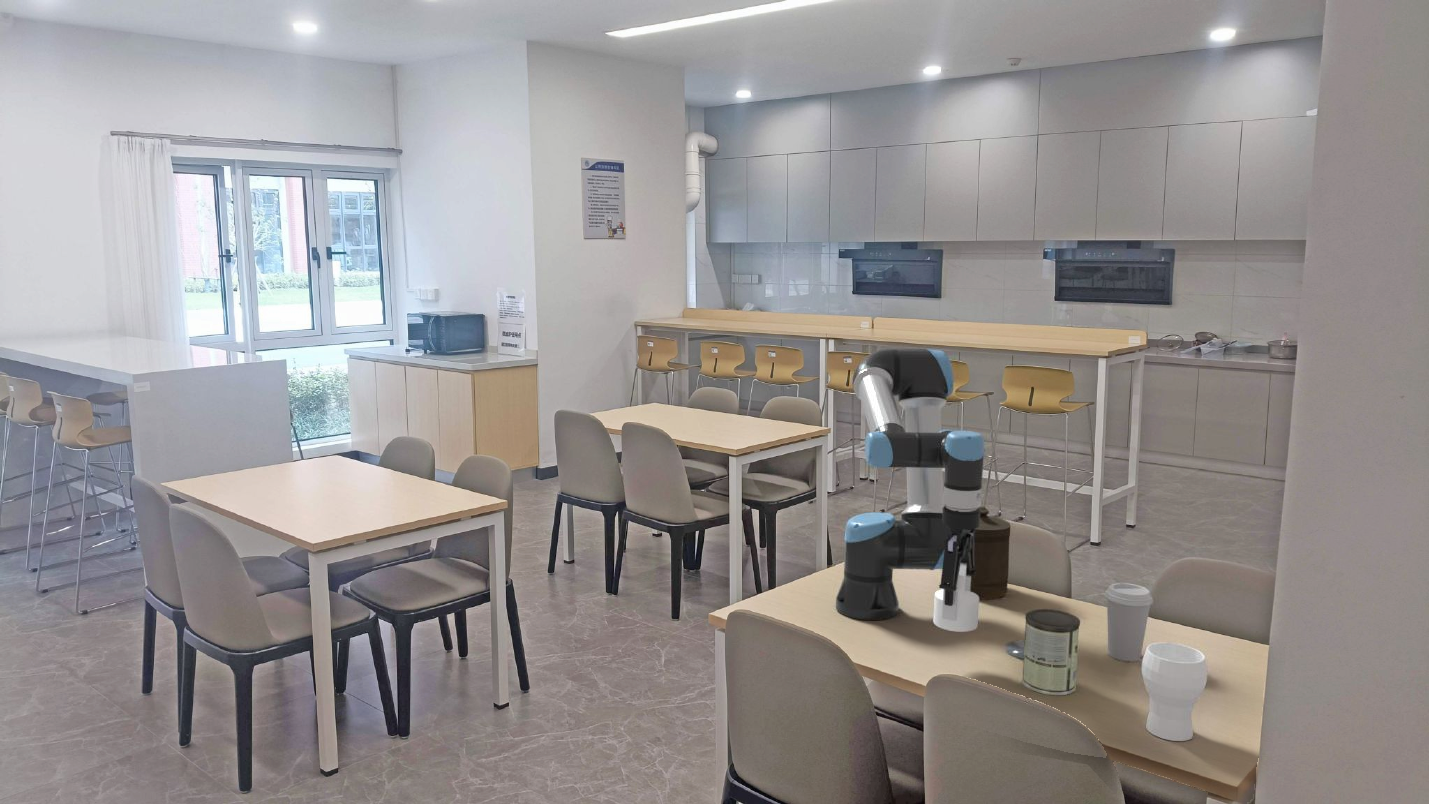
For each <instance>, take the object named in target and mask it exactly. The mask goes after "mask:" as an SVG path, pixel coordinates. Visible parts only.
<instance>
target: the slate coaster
mask: <svg viewBox="0 0 1429 804" xmlns="http://www.w3.org/2000/svg"><path fill="white" fill-rule="evenodd" d="M1024 647H1025V640H1013V641H1010V642H1008V643H1007V644H1006V645H1005V652H1006V653H1007V654H1009V655H1010V656H1011V657H1014V658H1016V659H1019V660H1023V661H1024Z"/></svg>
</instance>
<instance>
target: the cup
mask: <svg viewBox="0 0 1429 804" xmlns="http://www.w3.org/2000/svg"><path fill="white" fill-rule="evenodd" d="M1141 674H1142V679H1143V684H1144V687H1145V689H1146V691H1147V692H1148V695H1149V707H1150V708H1149V713H1148V716H1147V719H1146V722H1145V723H1146V725H1145V729H1146V730H1147V731H1148V732H1149V733H1150V734H1151V735H1153V736H1155V737H1158V738H1160V739H1163V740H1167V741H1174V742H1185V741H1189V740H1191V739H1193V736H1194V729H1193V728H1194V727H1193V718H1192V716H1193V711H1194V707H1195V704H1196V702H1197V701H1198V700H1199V699H1200V698H1201V696H1202V694H1203V692H1204V690H1205V688H1206V685H1207V681H1208V667H1207V660H1206V657H1205V654H1204V653H1203V652H1201V651H1200V650H1198V649H1196V648H1194V647H1191V646H1188V645H1184V644H1180V643H1175V642H1174V643H1173V642H1153V643H1151V644H1149V645H1147V647H1146V649H1145V651H1144V655H1143V657H1142V661H1141Z"/></svg>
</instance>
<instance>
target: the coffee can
mask: <svg viewBox="0 0 1429 804" xmlns="http://www.w3.org/2000/svg"><path fill="white" fill-rule="evenodd" d="M1024 618H1025V630H1024V631H1025V632H1024V641H1025V647H1024V660H1023V667H1022V668H1023V669H1022V680H1021V681H1022V682H1021V683H1022V684H1023V685H1024V686H1025V687H1026V688H1027V689H1029V690H1031V691H1033V692H1036V693H1039V694H1043V695H1049V696H1066V695H1070V694H1072V693H1074V692H1075V691H1076V689H1077V688H1076V679H1077V666H1078V665H1077V663H1078V648H1079V647H1078V646H1079V633H1080V630H1079V629H1080V626H1081V619H1080V618H1079V617H1078V616H1076V615H1074V614H1072V613H1070V612H1066V611H1062V610H1059V609H1053V608H1052V609H1051V608H1036V609H1032V610H1029V611H1027V612H1026V613H1025V617H1024Z"/></svg>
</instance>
